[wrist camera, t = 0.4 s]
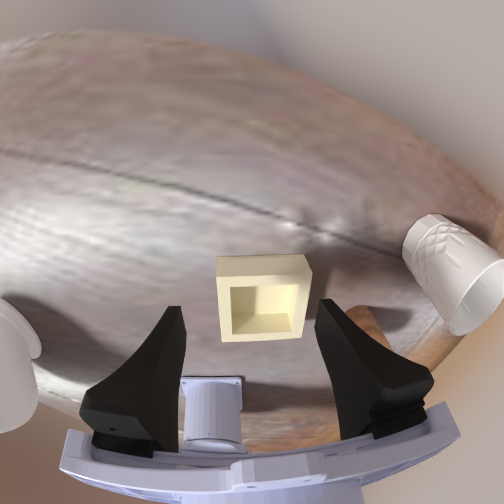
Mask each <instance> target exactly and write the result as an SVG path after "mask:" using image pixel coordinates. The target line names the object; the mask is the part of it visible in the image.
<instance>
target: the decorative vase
mask: <svg viewBox="0 0 504 504" xmlns="http://www.w3.org/2000/svg"><path fill="white" fill-rule="evenodd" d="M41 351H42V346H41V342H40V340H39V337H38V336H37V334H36V332H35V331H34V329H33V328H32V326H31V325H30V324H29V322H28V321H27V320H26V319H25V318H24V317H23V316H22V314H21V313H20V312H19V311H17V310H16V309H15V308H14V307H13V306H12V305H10V304H9V303H8V302H6V301H5V300H3V299H1V298H0V433H4V432H8V431H11V430H13V429H15V428H17V427H19V426H21V425H23V424H24V423H26V422H27V421H28V420H29V419H30V418H31V416H32V415H33V413H34V412H35V410H36V407H37V403H38V388H37V383H36V378H35V374H34V370H33V366H32V362H31V359H36V358H38V357H39V356H40V354H41Z"/></svg>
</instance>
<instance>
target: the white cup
mask: <svg viewBox="0 0 504 504" xmlns="http://www.w3.org/2000/svg"><path fill="white" fill-rule="evenodd" d="M402 258H403V260H404V262H405V264H406V266H407V268H408V269H409V270H410V271H411V273H412V274H413V275H414V277H415V279H416V281H417V282H418V284H419V285H420V286H421V288H422V289H423V291H424V292H425V294H426V295H427V297H428V298H429V300H430V301H431V302H432V304H433V305H434V307H435V308H436V310H437V311H438V313H439V314H440V316H441V317H442V319H443V320H444V322H445V323H446V325H447V326H448V328H449V330H450V331H451V333H452V334H453V335H455V336H462V335H465V334H468V333H470V332H471V331H473V330H475V329H476V328H478V327H479V326H480V325H481V324H483V323H484V322H485V321H486V320H487V319H488V318H489V317H490V316H491V314H492V313H493V312H494V311H495V309H496V308H497V307H498V305H499V304H500V302H501V301H502V299H503V297H504V257H503V256H502V255H500V254H499V253H498V252H496V251H495V250H494V249H492V248H491V247H490V246H488V245H487V244H486V243H484V242H483V241H482V240H480V239H479V238H478V237H476V236H475V235H473V234H472V233H470V232H468V231H467V230H465V229H464V228H462V227H461V226H458V225H456V224H454V223H453V222H451V221H449V220H448V219H446V218H445V217H443V216H442V215H440V214H428V215H426V216H424V217H422V218H420V219H419V220H417V221H416V223H415V224H414V225H413V226H412V227H411V228H410V230H409V231H408V233H407V235H406V238H405V240H404V242H403V249H402Z"/></svg>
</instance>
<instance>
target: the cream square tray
mask: <svg viewBox="0 0 504 504" xmlns="http://www.w3.org/2000/svg"><path fill="white" fill-rule="evenodd" d="M312 274H313V273H312V271H311V269H310V267H309V264H308V262H307V260H306V258H305V255H304V254H293V255H258V256H222V257H218V258H217V274H216V279H217V292H218V304H219V315H220V326H221V337H222V342H239V341H262V340H278V339H291V338H301V336H302V331H303V325H304V320H305V315H306V309H307V304H308V298H309V292H310V286H311V280H312Z"/></svg>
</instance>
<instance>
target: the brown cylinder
mask: <svg viewBox="0 0 504 504" xmlns="http://www.w3.org/2000/svg"><path fill="white" fill-rule="evenodd" d="M345 314H346V315H347V316H348V317H349V318H350V319H351V320H352V321H353V322H355V323H356V324H357V325H358V326H359V327H360V328H361V329H362V330H363V331H365V332H366V333H367V334H368V335H369V336H371V337H372V338H373V339H375V340H376V341H377V342H379V343H380V344H381V345H383V346H384V347H386V348H388V349H389V350H391V351H393V350H392V348H391V346H390V344H389V342H388V341H387V339H386V337H385V335H384V333H383V331H382V329H381V328H380V326H379V324H378V322H377V320H376V319H375V317H374V315H373V313H372V312H371V310H370V308H369V307H367V306H363V305H360V306H355V307H353V308H351V309H349V310H348V311H346V312H345Z"/></svg>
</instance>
